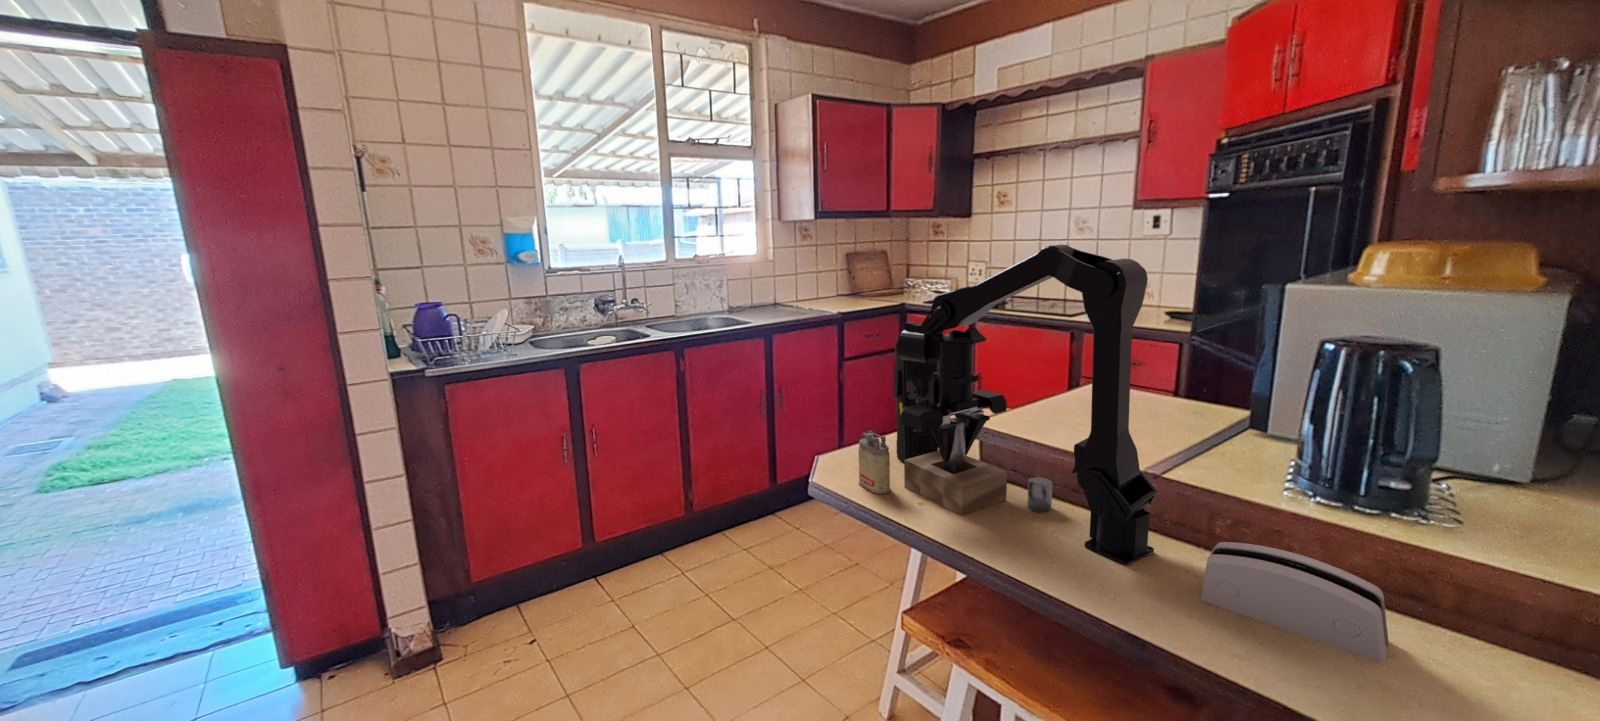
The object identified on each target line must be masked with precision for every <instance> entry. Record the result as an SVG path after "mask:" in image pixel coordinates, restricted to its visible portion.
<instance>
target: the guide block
mask: <svg viewBox="0 0 1600 721" xmlns="http://www.w3.org/2000/svg"><path fill="white" fill-rule="evenodd" d="M903 469H904V472H903V473H904V476H903V477H904V480H903V481H904V488H907V489H909V490H910V491H912V492H914V493H916V494H918V495H920V496H922V497H924V498H926V499H928V500H930V501H932V502H934V503H936V504H937V505H940V506H942V507H944V508H946V509H948V510H950V511H952V512H954V513H955V514H958V515H960V516H964V515H967V514H970V513H973V512H976V511H978V510H981V509H985V508H987V507H991V506H993V505H997V504H999V503H1002V502H1004V501H1007V488H1008V486H1007V481H1008V478H1007V477H1008V471H1006V470H1003V469H1002V468H999V467H997V466H994V465H991V464H988V463H986V462H983V461H981V460H978V459H975V458H973V457H970V456H967V455H966V456H965V471H963V472H960V473H956V474H951V473H949V472H947V471H945V470H943V459H942V457H941V454H940V451H939V450H938V451H935V452H932V453H928V454H924V455H920V456H917V457H913V458H909V459H906V460H904V468H903Z"/></svg>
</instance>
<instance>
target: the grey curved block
mask: <svg viewBox="0 0 1600 721" xmlns="http://www.w3.org/2000/svg"><path fill="white" fill-rule="evenodd" d="M1200 601H1202V602H1206V603H1209V604H1211V605H1214V606H1218V607H1219V608H1223V609H1226V610H1228V611H1232V612H1234V613H1238V614H1240V615H1243V616H1246V617H1249V618H1252V619H1254V620H1258V621H1260V622H1262V623H1266V624H1268V625H1270V626H1271V625H1272V626H1274V627H1277V628H1280V629H1283V630H1287V631H1289V632H1292V633H1294V634H1297V635H1300V636H1303V637H1306V638H1307V639H1311V640H1314V641H1318V642H1320V643H1323V644H1326V645H1329V646H1331V647H1333V648H1337V649H1340V650H1343V651H1346V652H1348V653H1351V654H1354V655H1356V656H1359V657H1363V658H1365V659H1368V660H1372V661H1374V662H1376V663H1380V664H1382V663H1384V661H1385V660H1386V658H1387V648H1390V645H1389V633H1388V631H1389V630H1388V625H1387V616H1386V607H1385V599H1384V592H1383V590H1382V589H1380V587H1378V585H1377V586H1376V585H1375V584H1373V583H1371V582H1369V581H1367V580H1365V579H1364V578H1363V579H1362V578H1361V577H1358V576H1357V575H1354V574H1352V573H1350V572H1347V571H1345V570H1343V569H1341V568H1339V567H1336V566H1333V565H1331V564H1329V563H1326V562H1323V561H1320V560H1317V559H1315V558H1311V557H1309V556H1306V555H1302V554H1298V553H1294V552H1291V551H1287V550H1282V549H1278V548H1274V547H1270V546H1265V545H1259V544H1252V543H1245V542H1234V541H1233V542H1231V541H1229V542H1228V541H1221V542H1218V543H1217V544H1216V545H1215V546H1214V547H1213V548H1212V549H1211V551H1210V555H1209V556H1208V557H1207V561H1206V566H1205V570H1204V576H1203V581H1202V587H1201V593H1200Z"/></svg>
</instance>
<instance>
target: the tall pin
mask: <svg viewBox="0 0 1600 721" xmlns="http://www.w3.org/2000/svg"><path fill="white" fill-rule="evenodd" d="M950 424H952V425H955V426H956V430H955V435H954V440H953V445H952V450H951V455H950V458H949V461H947V462H946V461H944V460H943V470H945V471H947V472H949V473H951V474H956V473H960V472H963V471H965V444H966V421H965V420H963V419H959V418H956V417H952V418H951V417H950Z"/></svg>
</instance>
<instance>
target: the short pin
mask: <svg viewBox="0 0 1600 721" xmlns="http://www.w3.org/2000/svg"><path fill="white" fill-rule="evenodd" d="M1027 480H1028V481H1027V482H1028V483H1027V503H1026V504H1027V505H1026V506H1027V507H1026V508H1027V509H1028V510H1029V511H1031V512H1034V513H1039V514H1047V513H1050V512H1051V511H1052V505H1053V504H1052V503H1053V502H1052V501H1053V481H1052V480H1050V479H1048V478H1046V477H1040V476H1039V477H1038V476H1037V477H1030V478H1029V479H1027Z"/></svg>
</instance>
